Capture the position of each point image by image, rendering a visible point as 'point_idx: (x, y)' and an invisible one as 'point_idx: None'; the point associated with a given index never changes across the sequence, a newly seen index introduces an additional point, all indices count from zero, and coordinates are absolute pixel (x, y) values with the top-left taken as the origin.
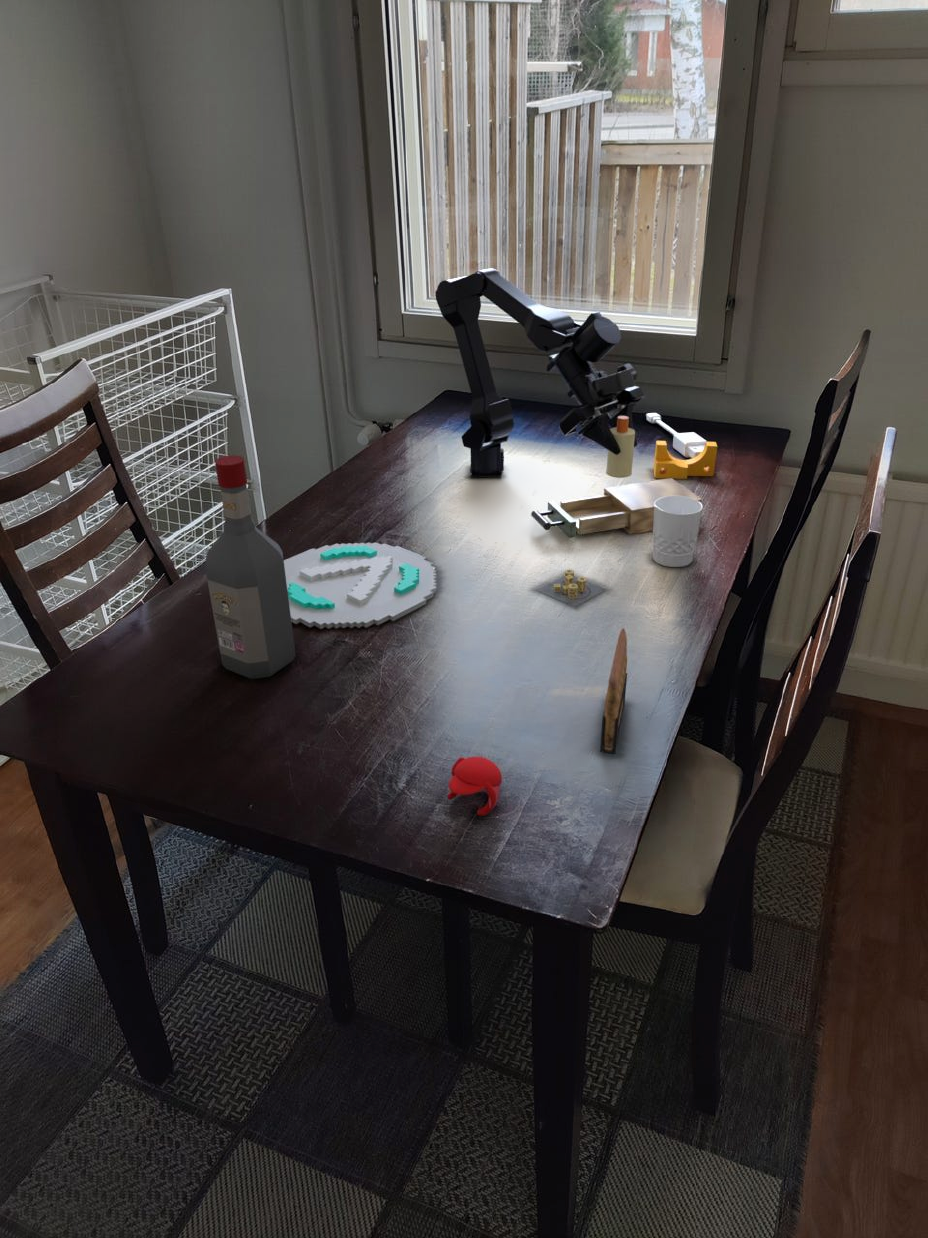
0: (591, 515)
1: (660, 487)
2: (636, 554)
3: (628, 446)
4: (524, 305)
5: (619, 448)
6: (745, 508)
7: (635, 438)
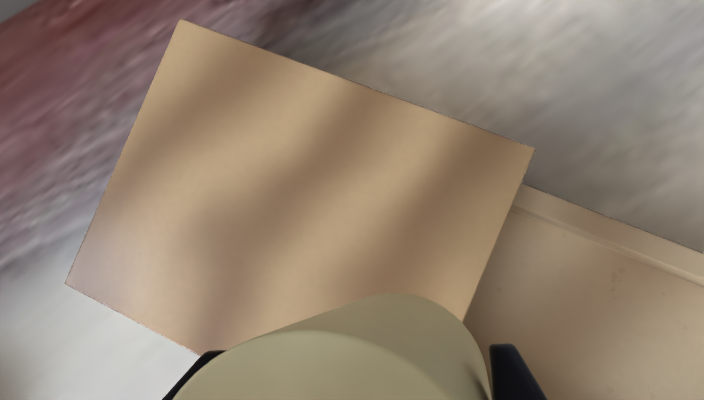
0: (585, 374)
1: (193, 242)
2: (661, 21)
3: (391, 320)
4: None
5: (498, 369)
6: (20, 38)
7: (172, 397)
